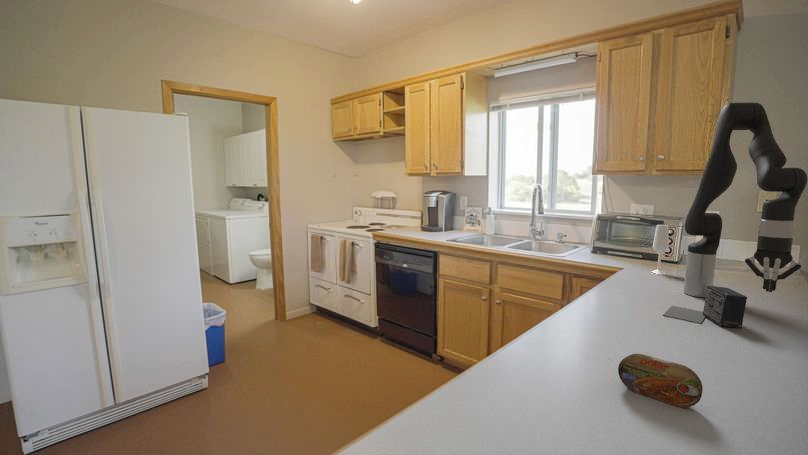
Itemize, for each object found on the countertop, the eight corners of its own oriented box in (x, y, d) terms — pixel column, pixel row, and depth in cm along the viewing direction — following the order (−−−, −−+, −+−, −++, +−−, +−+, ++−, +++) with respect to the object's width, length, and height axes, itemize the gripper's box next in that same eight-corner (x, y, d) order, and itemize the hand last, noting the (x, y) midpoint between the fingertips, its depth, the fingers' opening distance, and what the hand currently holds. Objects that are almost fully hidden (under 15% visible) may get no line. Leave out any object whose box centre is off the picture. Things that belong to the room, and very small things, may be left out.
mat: (671, 306, 141) (672, 305, 141) (707, 313, 134) (707, 312, 134) (662, 315, 132) (662, 314, 132) (701, 323, 124) (701, 322, 124)
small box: (743, 328, 120) (749, 296, 119) (720, 326, 122) (725, 294, 120) (723, 316, 130) (728, 286, 129) (701, 314, 132) (706, 285, 130)
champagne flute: (647, 271, 194) (651, 224, 191) (659, 271, 195) (663, 224, 192) (657, 275, 187) (661, 226, 184) (669, 274, 188) (674, 226, 185)
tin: (616, 386, 87) (619, 351, 86) (620, 381, 89) (623, 346, 88) (699, 415, 76) (703, 375, 75) (701, 408, 79) (706, 369, 78)
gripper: (806, 236, 113) (799, 293, 115) (747, 231, 123) (741, 285, 125) (807, 238, 108) (799, 298, 110) (744, 234, 117) (739, 289, 119)
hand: (768, 291), depth 117 cm, fingers closed
